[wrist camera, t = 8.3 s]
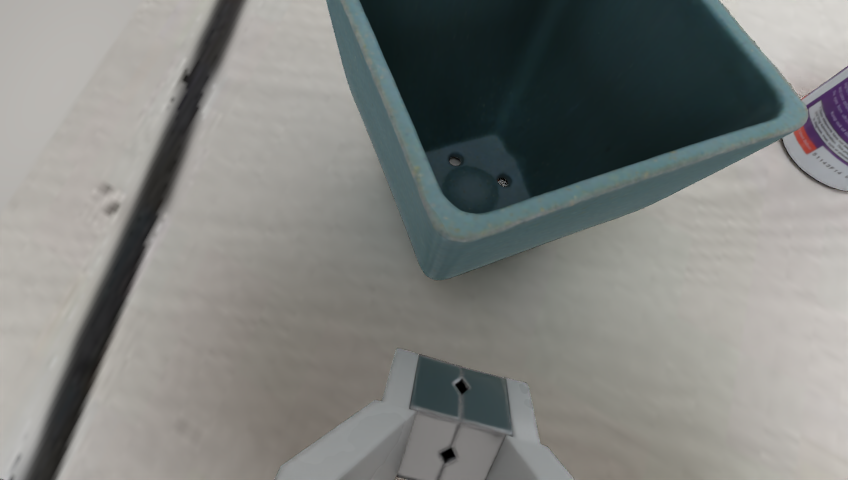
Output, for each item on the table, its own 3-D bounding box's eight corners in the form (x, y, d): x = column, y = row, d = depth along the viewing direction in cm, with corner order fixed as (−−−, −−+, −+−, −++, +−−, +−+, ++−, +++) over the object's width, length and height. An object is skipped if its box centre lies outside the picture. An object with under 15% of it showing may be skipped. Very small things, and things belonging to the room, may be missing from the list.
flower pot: (607, 255, 17) (831, 115, 8) (410, 330, 15) (444, 248, 6) (516, 94, 19) (615, -133, 11) (340, 141, 17) (299, -91, 9)
